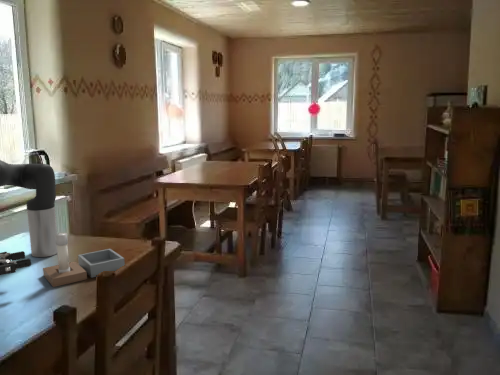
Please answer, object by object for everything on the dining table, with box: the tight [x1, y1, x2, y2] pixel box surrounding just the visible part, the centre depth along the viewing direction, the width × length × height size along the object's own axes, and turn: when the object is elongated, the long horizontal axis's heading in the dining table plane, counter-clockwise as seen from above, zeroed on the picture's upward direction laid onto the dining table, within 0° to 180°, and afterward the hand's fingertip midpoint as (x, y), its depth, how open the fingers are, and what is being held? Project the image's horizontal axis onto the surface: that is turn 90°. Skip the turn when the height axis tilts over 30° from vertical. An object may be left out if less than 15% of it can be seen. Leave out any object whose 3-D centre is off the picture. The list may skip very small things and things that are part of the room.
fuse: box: [55, 232, 70, 273], centre depth 144 cm, size 3×3×14 cm
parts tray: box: [77, 248, 126, 278], centre depth 153 cm, size 13×11×4 cm
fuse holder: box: [42, 261, 88, 288], centre depth 145 cm, size 12×10×2 cm
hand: (27, 258), depth 138 cm, fingers open, 8 cm apart
